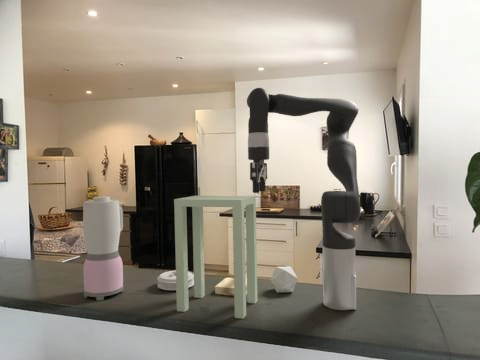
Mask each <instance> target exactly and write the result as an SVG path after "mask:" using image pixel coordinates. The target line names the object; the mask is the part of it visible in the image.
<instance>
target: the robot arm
mask: <svg viewBox="0 0 480 360" xmlns="http://www.w3.org/2000/svg"><path fill="white" fill-rule="evenodd" d="M246 103H247V104H246V105H247V107H248V108H249V118H248V127H247V128H248V130H247V131H248V137H247V158H248V160H249V161H253V162H249V179H250V181H251V182H252V193H253V194H259V193H260V192H261V193H262V192H266V191H267V190H266V187H267V186H266V182H267V180H268V164H267V163H266V162H265V161H267V160H270V137H269V121H268V119H269V113H270V114H279V115H282V116H283V115H284V116H290V117H303V116H305V115H306V116H307V115H309V114H313V113H318V112H328V115H327V118H326V128H327V129H326V130H327V137H328V139H327V153H326V154H327V155H326V157H327V158H326V164H327V168H328V170H329V171H330V173H331V174H332V175H333V177H335V178H336V179H337V180H338V181H339V182H340V184H341V185H343V187H344V189H345V190H342V191H341V190H332V191H331V190H326V191H324V192H323V193H322V195H321V198H320V199H321V200H320V205H321V206H320V207H321V208H320V209H321V223H322V224H321V225H322V226H321V227H322V290H323V291H322V294H323V295H322V298H323V299H322V300H323V306H325V307H326V308H329V309H331V310H334V311H335V310H336V311H350V310H357V270H356V269H357V267H356V265H357V264H356V239H355V238H356V237H354V236H353V235H351V234H349V233H346V232H343V231H341V230H340V229H338V228H337V227H335V226H334V224H354V223H357V222H358V221H359V219H360V217H361V199H360V191H359V185H358V179H357V178H358V174H357V173H358V169H357V166H358V165H357V160H358V159H357V150H356V146H355V144H354V143H353V141H352V140H351V139H349V134H350V133H349V131H350V129H351V127H352V125H353V124H354V122H355V119H356V118H357V116H358V113H359V107H358V106H357V104H356V103H354V102H353V101H352V100H348V99H343V98H325V97H301V96H295V95H289V94H284V93H277V94H269V93H268V91H267V90H266V89H264V88H262V87H256V88H254V89H252V90H251V91H250V93H249V95H248V96H247V98H246Z"/></svg>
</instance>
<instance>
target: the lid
mask: <svg viewBox="0 0 480 360" xmlns="http://www.w3.org/2000/svg"><path fill="white" fill-rule="evenodd" d="M156 280H157V288H158V289H160V290H164V291H176V269H174V270H169V271H165V272H162V273H160V275H158V276H157V278H156ZM190 287H191V288H192V287H194V273H192V272H191V271H189V270H188V289H189V288H190Z"/></svg>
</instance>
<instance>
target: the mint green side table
mask: <svg viewBox="0 0 480 360" xmlns="http://www.w3.org/2000/svg"><path fill="white" fill-rule="evenodd" d="M256 197H257V196H256V195H191V196H187V197H186V196H185V197H181V198H180V197H179V198H174V199H173V204H174V205H173V206H174V207H173V208H174V245H175V248H174V249H175V270H176V290H175V291H176V312H183V313H186V311H188V310H189V308H190V306H189V305H190V304H189V303H190V302H189V288H188V271H189V266H188V261H189V260H188V224H187V223H188V221H187V217H188V216H187V207H190V208H191V210H192V211H191V213H192V247H193V248H192V252H193V255H192V257H193V258H192V259H193V274H194V278H193V279H194V285H193V293H194V296H193V298H198V299H202V298H204V297H205V295H206V294H205V292H206V289H205V287H206V286H205V247H204V244H205V243H204V241H205V239H204V238H205V237H204V208H232V249H233V250H232V252H233V257H232V258H233V278H234V296H233V298H234V299H233V302H234V304H233V305H234V318H235V319H245V317H246V316H247V304H256V303H257V302H258V258H257V257H258V256H257V251H258V250H257V205H256V203H257V198H256ZM245 270H247V295H246V276H245Z"/></svg>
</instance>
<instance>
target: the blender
mask: <svg viewBox="0 0 480 360" xmlns="http://www.w3.org/2000/svg"><path fill="white" fill-rule="evenodd" d="M82 204H83V205H82V208H83V211H82V214H83V215H82V226H83V228H82V229H83V236H84V242H85V247H86V258H85V261H84V263H83V270H82V272H83V297H84V299H88V297H91V298H95V299H96V301H104V300H105V299H104V298H105V297H107V296H113V295H116V294H118V293H122V294H123V293H124V266H123V265H124V264H123V259H122V258H121V255H120V253H119V245H120V237H121V233H122V231H124V210H123V207H122V205H121V204H120V201H119V200H118V199H111V197H110V196H93V197H92V200H86V201H84V202H83V203H82Z"/></svg>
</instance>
